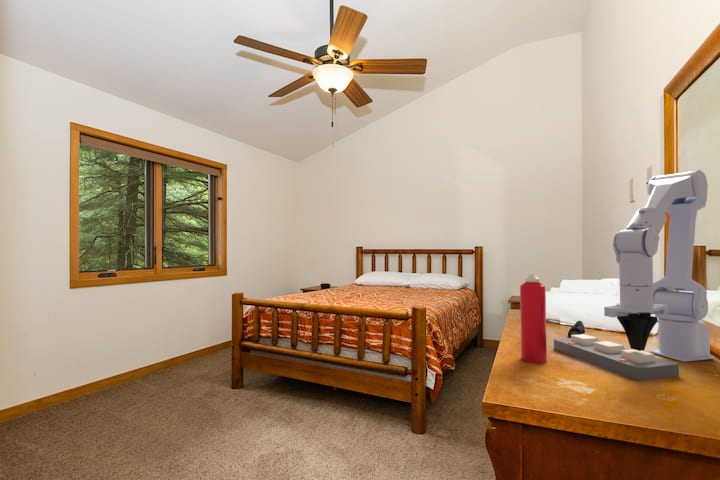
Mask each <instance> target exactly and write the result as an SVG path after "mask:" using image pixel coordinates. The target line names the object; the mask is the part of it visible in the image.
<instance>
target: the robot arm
mask: <svg viewBox="0 0 720 480" xmlns="http://www.w3.org/2000/svg"><path fill="white" fill-rule="evenodd" d="M708 186H709V185H708V180H707V176H706V174H705V173H704V172H703V171H702V170H701V169H696V170H694V171H693V170H692V171H686V172H685V171H684V172H677V173H671V174H664V175H653V176H652V177H651V178H650V180H649V181H648V186H647V189H648V190H647V191H648V196H649V198H648V201H647V202H646V205H645V206H643V207H639V209H638V210H636V212H635V214H634V215H633V216H632V218H631V220H630V221H629V223H628V224H627V226H626V227H625V229H621V230H619V232H616V233H615V235H614V237H613V242H612V248H613V251H614V253H615V262H616V264H618V267H619V268H618V269H619V302H617V303H616V304H614V305H610V306H603V307H604V308H603V309H604V312H603V313H604V317H609V318H616V319H617V320H618V322H619V323H620V326H622V328H623V330H624V333H625V335H626V337H627V341H628V345H629V347H630V350H631V349H634V350H638V351H645V349H646V347H647V342H648V340H649V337H650V334H651V332H652V330H653V328H654V327H655V325H657V323H658V349H651V350H649V353H652V354H654V355H658V356H662V357H664V358H669V359H673V360H676V361H679V362H682V363H683V362H684V363H685V362H694V361H695V362H696V361H705V360H714V359H715V356H712V355H711V350H710V349H711V347H710V346H711V345H710V344H711V343H710V342H711V341H710V329H709V327H708V326H707V324H706V323H705V322H704V321H703V320H704V319H705V318H706V317H707V314H708V312H709V311H708V309H709V302H708V298H707V297H708V296H707V294H708V293H707V290H706V288H705V287H704V286H703V285H702V284H700V283H699V282H697V281H695V280H694V279H693V278H692V277H693V266H694V265H693V264H694V263H693V262H694V251H695V250H694V246H695V235H696V234H695V233H696V223H697V222H696V221H697V216H698V211H700V210H701V209H703V208H705V207H706V205H707V204H706V203H707V201H708V200H707V199H708ZM666 213H668V215H669V225H668V239H667V249H666V263H665V272H664V273H665V274H664V277H662V278H660V279H659V280H657V281H654V271H653V270H654V269H653V268H654V265H653V261H654V260H653V256H655V255H656V253H657V252H658V249H659V241H660V239H661V238H660V235H659V234H660V233H661V231H662V229H663V228H664V226H665V224H666V222H667V215H666ZM652 315H654V316H652Z"/></svg>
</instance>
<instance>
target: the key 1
mask: <svg viewBox="0 0 720 480" xmlns="http://www.w3.org/2000/svg"><path fill="white" fill-rule="evenodd" d="M598 341H599V340H598V337H595V336H592V335H588V334H585V333H583V334H580V335H571V342H574V343H577V344H580V345H584V346H585V345H594V342H598Z"/></svg>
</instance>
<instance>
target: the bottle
mask: <svg viewBox="0 0 720 480" xmlns="http://www.w3.org/2000/svg"><path fill="white" fill-rule="evenodd" d="M546 294H547V293H546V286H545V285H544V284H543V283H541V282H540V278H539V277H537V274H528V276H527V277H526V278H525V282H524V283H522V284H520V287H519V305H520V306H519V309H520V312H519V315H520V359H521V360H522V361H523V362H525V363H529V364H540V365H543V364H546V363H547V361H548V360H547V359H548V358H547V357H548V353H547V349H548V347H547V301H546V299H547V298H546Z"/></svg>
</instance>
